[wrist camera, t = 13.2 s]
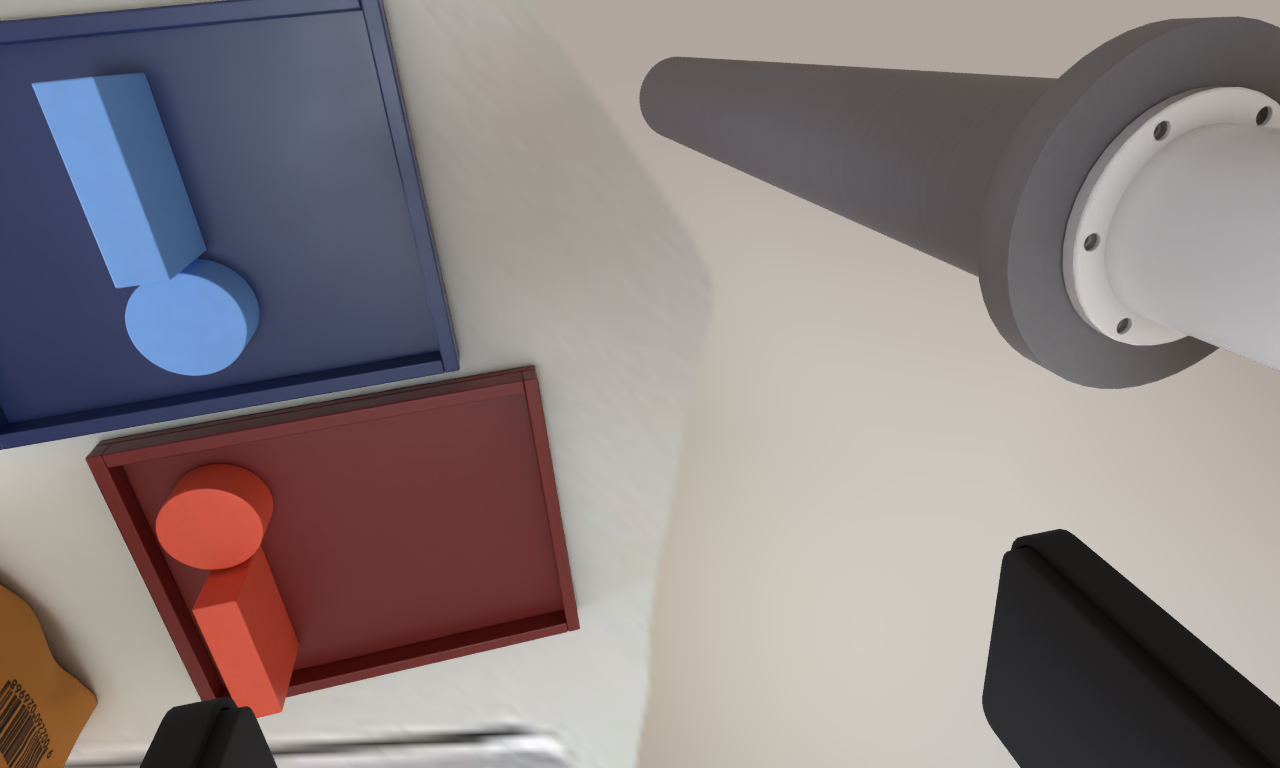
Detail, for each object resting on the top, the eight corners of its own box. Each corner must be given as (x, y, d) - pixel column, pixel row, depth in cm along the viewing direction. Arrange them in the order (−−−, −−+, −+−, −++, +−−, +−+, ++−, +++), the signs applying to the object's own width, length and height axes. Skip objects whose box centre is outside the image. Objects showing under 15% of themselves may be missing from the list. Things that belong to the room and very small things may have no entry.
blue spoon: (54, 81, 24) (-14, 87, 21) (180, 68, 25) (135, 72, 21) (168, 363, 29) (126, 408, 25) (273, 346, 29) (247, 388, 26)
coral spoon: (324, 638, 35) (309, 705, 32) (238, 657, 34) (213, 728, 31) (257, 455, 31) (231, 508, 27) (157, 473, 30) (118, 530, 27)
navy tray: (380, -11, 26) (376, -14, 24) (459, 357, 31) (459, 370, 30) (-202, 43, 23) (-240, 42, 22) (4, 435, 29) (-16, 453, 27)
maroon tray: (534, 365, 32) (537, 377, 31) (576, 610, 38) (580, 629, 37) (99, 440, 30) (83, 458, 28) (216, 692, 35) (208, 716, 34)
